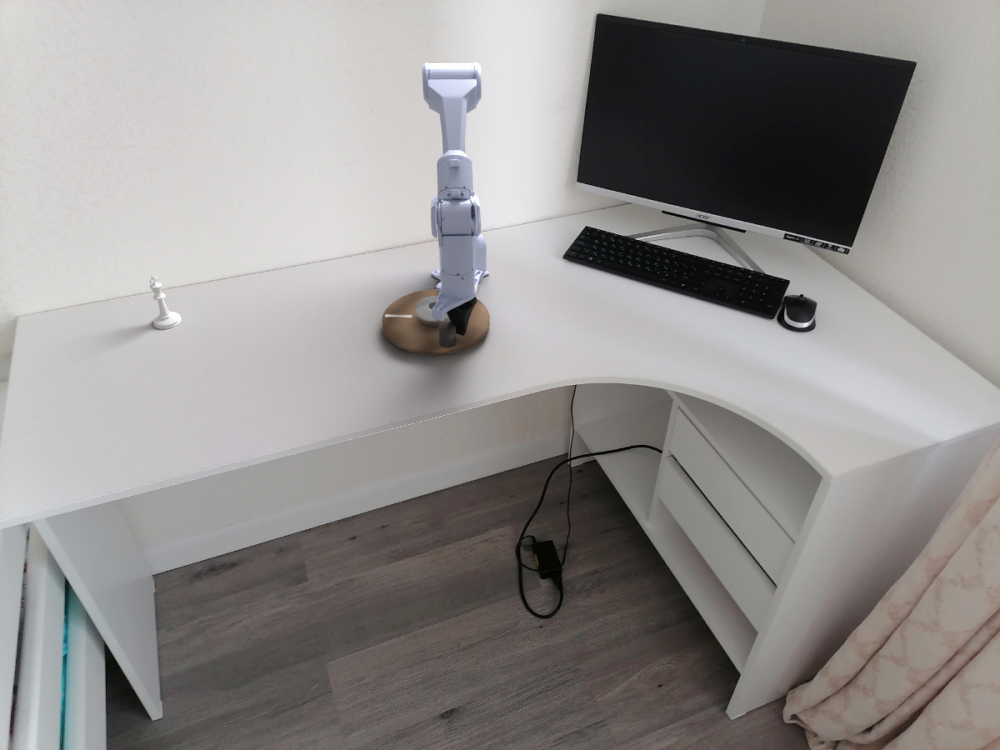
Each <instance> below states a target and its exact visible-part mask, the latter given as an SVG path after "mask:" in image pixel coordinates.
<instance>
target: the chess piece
mask: <svg viewBox="0 0 1000 750" xmlns="http://www.w3.org/2000/svg"><path fill="white" fill-rule="evenodd" d="M150 278H151V279H150V280H149V283H150V285H149V288H150V289H151V290H152V291H153V293H154V294H153V296H152V297H153V298H152V299H153V300H155V301H157V304H158V308H159V309H158V310H159V314H157V315H156V316H155V317H154V318H153V321H152V322H153V326H154V327H155V328H156V329H160V330H166V329H167V330H168V329H172V328H174V327H176V326H178V325H179V324H180V323H181V321H182V317H181V315H180V314H179V313H178V312H176V311H170V310H169V308H168V307H167V304H166V302H165V300H164V299H165V298H166V294H165V293H164V292H162V287H163V285H162V282H157V281H158V280H159V276H155V275H153V274H152V275H150Z"/></svg>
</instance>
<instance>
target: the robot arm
mask: <svg viewBox="0 0 1000 750" xmlns="http://www.w3.org/2000/svg"><path fill="white" fill-rule="evenodd" d="M421 73H422V74H421V75H422V76H421V77H422V94H423V100H424V101H425V102H426V104H427V105H428V108H429V109H430V110H431V111H434V113H438V114H439V120H440V122H439V123H440V128H441V139H442V155H441V156H440V157H439V158H438V159H437V162H436V178H437V179H436V180H437V182H436V183H437V194H435V195H434V196H433V197H432V200H431V202H430V226H431V227H430V228H431V236H432V237H433V238H434V239H437V242H438V253H439V255H438V257H439V269H436V270H434V271H432V272H431V276H433V277H434V278H436V279H438V280H439V281H440V282H439V283H438V284H436V285H435V289H436V290H438V291H440V292H439V295H438V298H437V301H436V304H435V306H434V307H433V308H432V318H433V319H436V320H440V321H443V320H444V319H445V314H446V313H447V315H448V317H449V319H450V322H452V323H454V324H455V325H456V334H459V335H462V336H464V335H465V334H466V331H467V326H468V322H469V318H470V315H471V312H472V310H473V308H474V306H475V304H476V303H477V299H478V298H477V297H476V295H477V291H478V288H479V284H481V283H482V282H483V281H484V277H485V276H488V275H489V274H490V271H488V270H487V243H486V239H485V237H484V235H483V234H482V218H481V217H482V213H481V202H480V199H479V197H478V196H477V195H476V194H475V191H474V177H473V161H472V160H471V158H470V157H469V155H467V154H466V130H467V129H466V127H467V114H468V113H470V112H471V111H474V110H476V109H477V106H478V104H479V102H480V101H481V100H482V99H481V98H482V68H481V65H480V64H479V63H478V62H477V61H476V62H473V63H469V62H468V63H429V62H425V63H424V64H423V66H422V72H421Z"/></svg>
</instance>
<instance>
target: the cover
mask: <svg viewBox="0 0 1000 750" xmlns="http://www.w3.org/2000/svg"><path fill="white" fill-rule="evenodd" d="M437 298H438V296H430V297H426V298H424V299H422V300H420V301H419V302H418V303H417V306H416V309H417V320H418V322H419V323H420V324H421V325H423V326H426V327H430V328H439V325H440V324H441V323H443V322H450V319H449V317H448V315H447V313H446V314H445V319H444V320H443V321H440V320H436V319H433V318H432V308H433V307H434V306H435V304H436V301H437Z"/></svg>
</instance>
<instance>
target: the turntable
mask: <svg viewBox="0 0 1000 750" xmlns="http://www.w3.org/2000/svg"><path fill="white" fill-rule="evenodd" d="M439 292H440V291H438V290H436V288H434V289H433V288H431V289H425V290H423V289H422V290H419V291H414V292H411V293H408V294H405V295H403V296H401V297H399V298H398V299H396V300H394V301H392V303H390V304H389V306H387V307H386V308H385V310H384V312H383V314H382V319H381V323H382V324H381V325H382V332H383V334H384V336H385V338H386V339H387V341H389V342H390V343H392V344H393V345H394V346H396V347H397V348H399V349H401V350H404V351H407V352H410V353H415V354H421V355H430V356H433V355H434V356H435V355H437V356H438V355H447V354H453V353H458V352H460V351H464V350H466V349H468V348H471V347H472V346H474V345H476V344H477V343H479V342H480V341H481V340H482V339H483V338H485V336H486V335H487V333H488V331H489V329H490V325H491V324H490V323H491V322H490V321H491V320H490V312H489V309H488V308H487V306H486V305H485V304H484V303H483V302H482V301H481V300H480V299H478V298H477V303H476V304H475V306H474V308H473V310H472V312H471V315H470V318H469V322H468V326H467V331H466V334H465V335H464V336H462V335H459V334H456V325H455V324H454V323H452V322H443V323H441V324H440V325H439V328H430V327H426V326H423V325H421V324H420V323H419V322H418V320H417V309H416V306H417V303H418V302H419V301H420V300H422V299H424V298H426V297H430V296H438V295H439Z"/></svg>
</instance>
